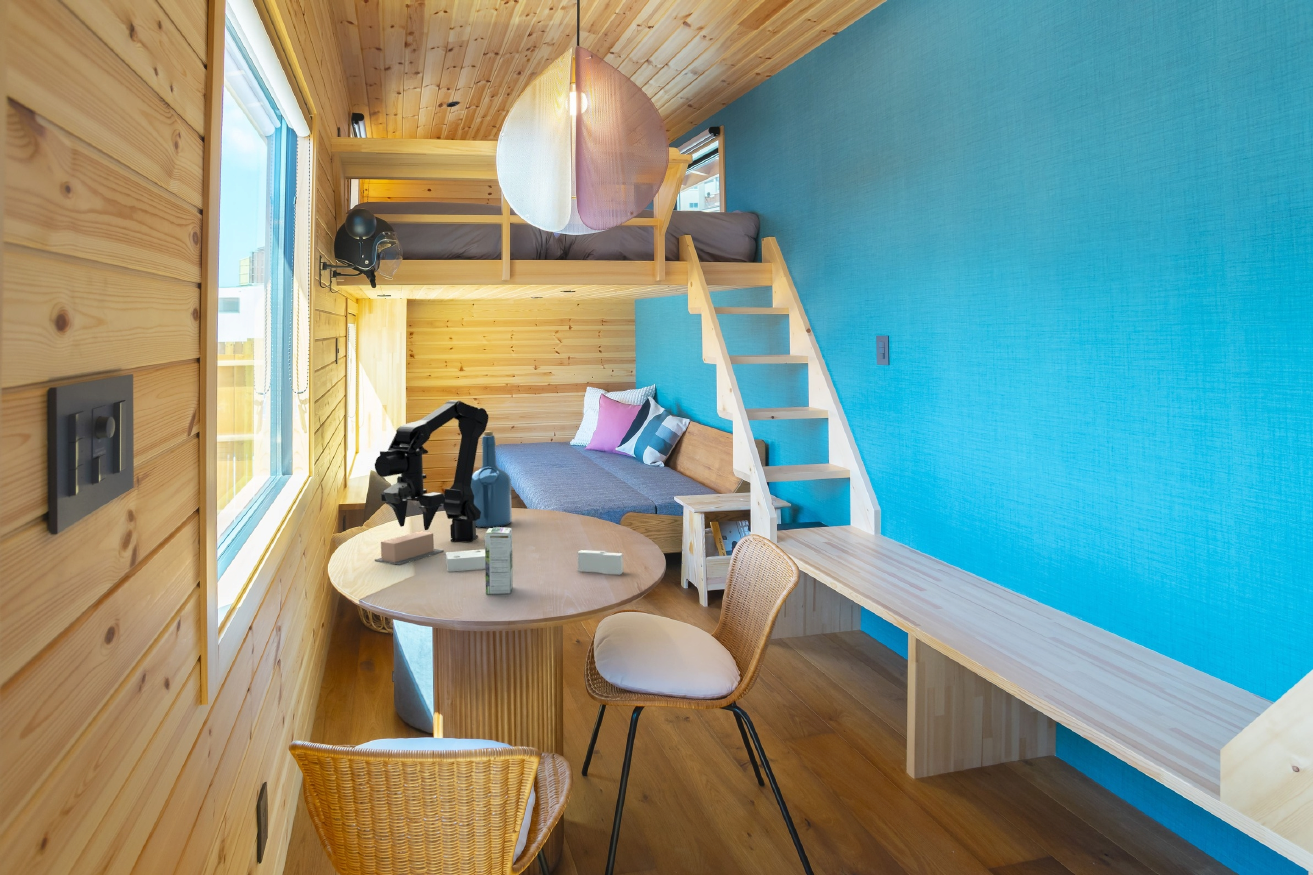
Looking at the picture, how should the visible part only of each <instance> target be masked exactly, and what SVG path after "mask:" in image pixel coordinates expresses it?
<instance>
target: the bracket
mask: <svg viewBox="0 0 1313 875" xmlns="http://www.w3.org/2000/svg"><path fill="white" fill-rule="evenodd" d="M445 561H446V562H445V563H446V569H447V572H449V573H450V572H461V571H473V570H474V571H475V570H483V569H485V548H484V549H474V550H460V551H449V552H447V551H446V552H445Z"/></svg>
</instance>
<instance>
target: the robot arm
mask: <svg viewBox="0 0 1313 875" xmlns="http://www.w3.org/2000/svg"><path fill="white" fill-rule="evenodd" d="M453 419H455V420H457V422H458V424H457V427H458V430H459V432H460V434H461V438H460V444H459V450H458V456H457V462H456V468H455V474H454V478H453V484H452V485H451V486H450V488H445V490H444V493H443V492H442V493H441V492H429V493H428V490H427V489H425V488H424V480H426V479H427V474H424V468H423V467H424V465H423V463H424V462H423V455H427V454H429V450H428V449H426V448H425V447H424V445H425V444H426V443H427V442H428V441H429V440H430V438H431V435H432V434H433V433H434V432H435V431H437V430H439V429H440V428H441V427H443V426H444V425H445V424H447V423H449V422H450V421H452V420H453ZM488 422H489V413H488V412H487V411H486V409H485V408H483V407H476V406H474V405H470V404H469V403H468V404H467V403H465V402H464V401H461V400H452V399H451V400H448V401H446V402H445V403H444V404H443V405H441V406H440V407H438V408H436V409H435V410H434V411H432V412H430V413H429V414H427V415H426V416H424V417H423V418H421V419H419V420H417V421H412V422H408V423H405V424H402V425H399V426H398V427H397V428H396V430H395V432H396V433H395V435H394V436H393V438H392V440H391V443H390V444H389V447H388V449H387V450H380V451H379V456H378V457H376V459H375V463H374V470H375V471H376V473H377V475H378V476H379V477H382V478H386V477H391V476H397V475H398V476H397V478H396V482H395V483H394V484H392V485H390V486H389V487H388V488H386V489H385V490H383V491H382V492H381V494H380V496H381V502H384V503H385V505H387V506H389V507H390V508H391V509H392V511H393V513H394V515H395V517H396V519H397V522H398V524H399V526H400V527H401V528H402V527H404V526H405V524H406V516H407V509H408V502H409V501H414V502H418V503H419V505H420V506H419V507H418V508H419V509H420V510H421V512H422V518H423V520H422V521H423V528H424V531H428V530H429V529H430V526H431V525H432V522H433V519H434V518H435V515H436V514H437V512H438V510H439V508H440V507H442V506H443V510H444V511H445V514H446V517H447V519H448V520H451V524H450V525H449V527H450V528H449V529H450V538H451V539H450V542H458V543H459V542H461V543H463V542H464V543H465V542H466V543H469V542H474V541H475V540H476V539H477V538H478V537H479V535H477V527H476V520H477V519H480V515H481V511H480V510H479V509H478V508H477V507H476V506H475V505H474V494H473V492H472V489H471V481H472V475H473V473H474V468H475V464H476V463H475V462H476V457H477V452H478V451H477V450H478V444H479V440H480V438H481V436H483V435H484V432H485V431H487V430H486V429H487V426H488Z"/></svg>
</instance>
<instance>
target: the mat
mask: <svg viewBox="0 0 1313 875" xmlns="http://www.w3.org/2000/svg"><path fill="white" fill-rule="evenodd" d="M439 553H444V549H438V548H434V551H432V552H428V553H425V554H422V555H418V556H415V557H412V558H408V559H405V560H401V561H398V562H390V561H384V560H382V557H379V558H375V559H374V561H375V562H380V563H386V564H391V565H395V564H397V565H396V566H401V565H404V564H407V563H410V562H409V561H411V562H414V561H417V560H420V559H423V558H425V557H426V556H427V557H429V555H430V556H433V555H436V554H439ZM416 559H417V560H416ZM413 560H414V561H413ZM400 564H401V565H400Z"/></svg>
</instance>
